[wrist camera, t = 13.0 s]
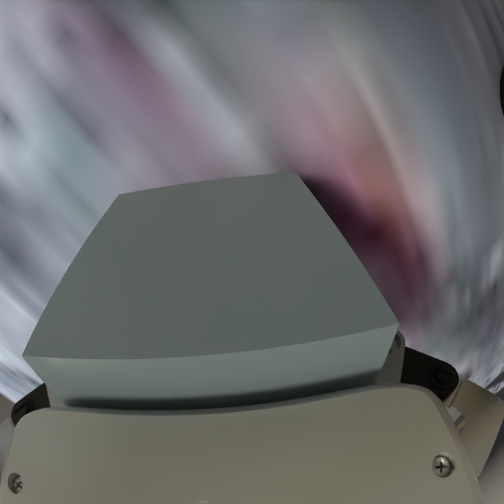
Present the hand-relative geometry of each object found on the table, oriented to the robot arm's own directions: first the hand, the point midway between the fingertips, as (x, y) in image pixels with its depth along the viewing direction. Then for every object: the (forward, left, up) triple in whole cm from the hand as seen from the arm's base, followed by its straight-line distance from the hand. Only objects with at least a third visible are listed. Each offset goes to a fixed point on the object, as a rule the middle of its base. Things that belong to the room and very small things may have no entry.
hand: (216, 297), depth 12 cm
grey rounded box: (0, 0, -3) cm, 3 cm away
